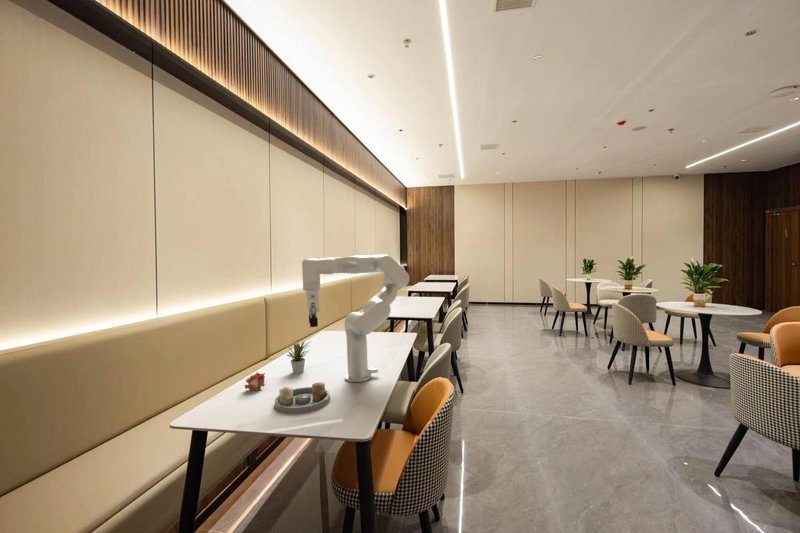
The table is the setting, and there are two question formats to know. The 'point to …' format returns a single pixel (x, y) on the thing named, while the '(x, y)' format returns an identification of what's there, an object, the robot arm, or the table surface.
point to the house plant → (298, 357)
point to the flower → (255, 381)
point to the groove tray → (302, 401)
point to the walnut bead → (318, 391)
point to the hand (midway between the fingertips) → (313, 324)
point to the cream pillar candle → (286, 396)
